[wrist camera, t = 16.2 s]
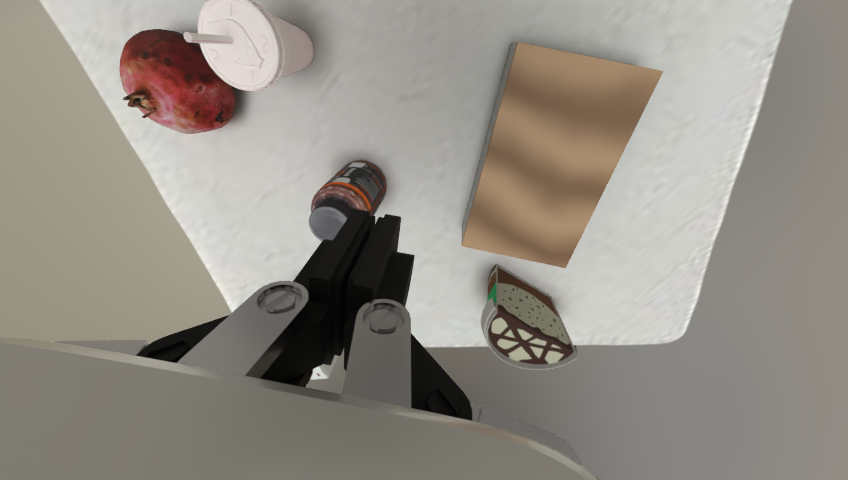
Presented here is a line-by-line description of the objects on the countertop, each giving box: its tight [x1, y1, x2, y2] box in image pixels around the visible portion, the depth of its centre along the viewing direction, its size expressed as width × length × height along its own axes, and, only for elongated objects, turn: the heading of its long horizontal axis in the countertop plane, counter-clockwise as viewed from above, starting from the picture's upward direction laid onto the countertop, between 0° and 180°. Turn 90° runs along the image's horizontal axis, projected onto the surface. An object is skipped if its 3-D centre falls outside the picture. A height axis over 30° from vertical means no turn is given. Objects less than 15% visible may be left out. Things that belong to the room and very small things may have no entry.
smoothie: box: [184, 0, 314, 91], centre depth 26 cm, size 6×6×14 cm
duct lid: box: [462, 42, 663, 268], centre depth 31 cm, size 20×12×1 cm, turn 170°
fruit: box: [120, 29, 235, 134], centre depth 31 cm, size 9×10×10 cm
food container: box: [481, 264, 578, 370], centre depth 41 cm, size 12×6×10 cm, turn 59°
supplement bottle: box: [309, 161, 386, 241], centre depth 34 cm, size 6×6×11 cm
